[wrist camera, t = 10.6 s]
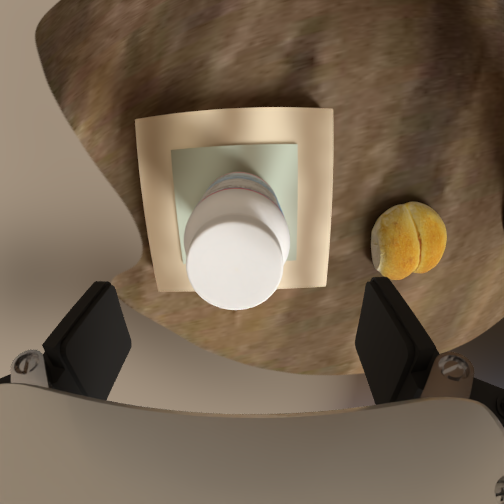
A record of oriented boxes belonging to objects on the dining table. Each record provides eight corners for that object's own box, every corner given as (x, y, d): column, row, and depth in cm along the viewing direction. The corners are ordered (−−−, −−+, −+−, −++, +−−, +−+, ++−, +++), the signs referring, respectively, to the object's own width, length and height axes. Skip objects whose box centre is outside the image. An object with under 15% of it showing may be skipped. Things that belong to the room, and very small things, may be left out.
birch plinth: (324, 110, 24) (334, 108, 21) (319, 271, 30) (326, 288, 27) (146, 119, 24) (133, 119, 21) (165, 276, 30) (157, 293, 27)
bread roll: (435, 261, 30) (452, 277, 27) (369, 277, 31) (383, 296, 27) (438, 194, 27) (459, 204, 23) (366, 205, 28) (383, 217, 24)
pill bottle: (256, 252, 26) (261, 338, 15) (191, 222, 24) (153, 293, 14) (291, 190, 23) (324, 243, 13) (222, 157, 22) (199, 182, 12)
